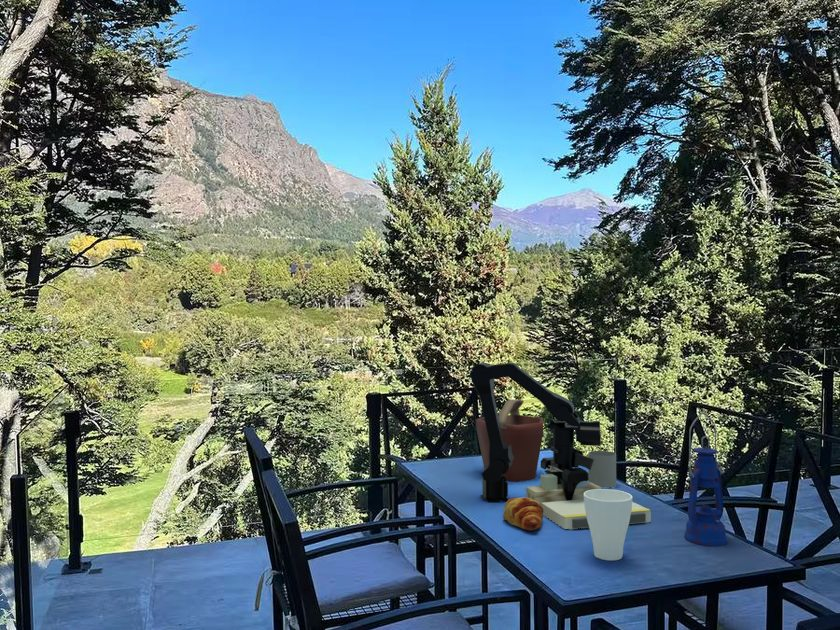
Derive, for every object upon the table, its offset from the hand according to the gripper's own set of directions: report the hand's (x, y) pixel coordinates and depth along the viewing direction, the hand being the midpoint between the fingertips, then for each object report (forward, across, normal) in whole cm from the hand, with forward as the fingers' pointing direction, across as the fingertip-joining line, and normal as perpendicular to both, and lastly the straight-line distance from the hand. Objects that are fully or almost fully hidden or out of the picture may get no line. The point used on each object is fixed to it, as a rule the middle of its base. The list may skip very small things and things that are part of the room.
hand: (563, 499), depth 190 cm
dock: (+1, -14, -2) cm, 14 cm away
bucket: (+2, +35, +1) cm, 35 cm away
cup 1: (+2, +16, -21) cm, 26 cm away
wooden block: (+2, 0, 0) cm, 2 cm away
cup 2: (+2, -40, +9) cm, 41 cm away
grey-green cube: (-4, 0, +4) cm, 6 cm away
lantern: (+2, -36, -19) cm, 41 cm away
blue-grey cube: (-4, 0, -5) cm, 6 cm away
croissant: (+2, -12, +17) cm, 21 cm away
